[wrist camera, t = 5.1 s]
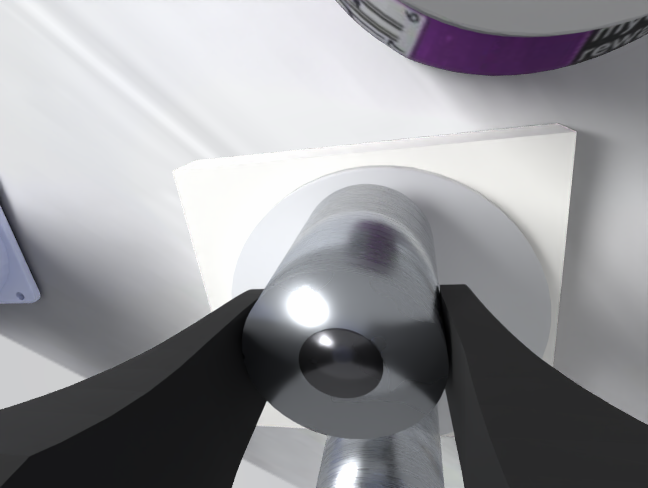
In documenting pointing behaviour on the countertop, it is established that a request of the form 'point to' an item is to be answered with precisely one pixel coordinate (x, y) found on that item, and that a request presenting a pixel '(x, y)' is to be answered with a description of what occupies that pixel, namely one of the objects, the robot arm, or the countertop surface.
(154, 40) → the countertop surface
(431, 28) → the beverage can
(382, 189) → the steel spacer
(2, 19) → the countertop surface
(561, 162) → the kitchen scale
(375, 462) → the steel spacer
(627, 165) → the countertop surface
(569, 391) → the robot arm
